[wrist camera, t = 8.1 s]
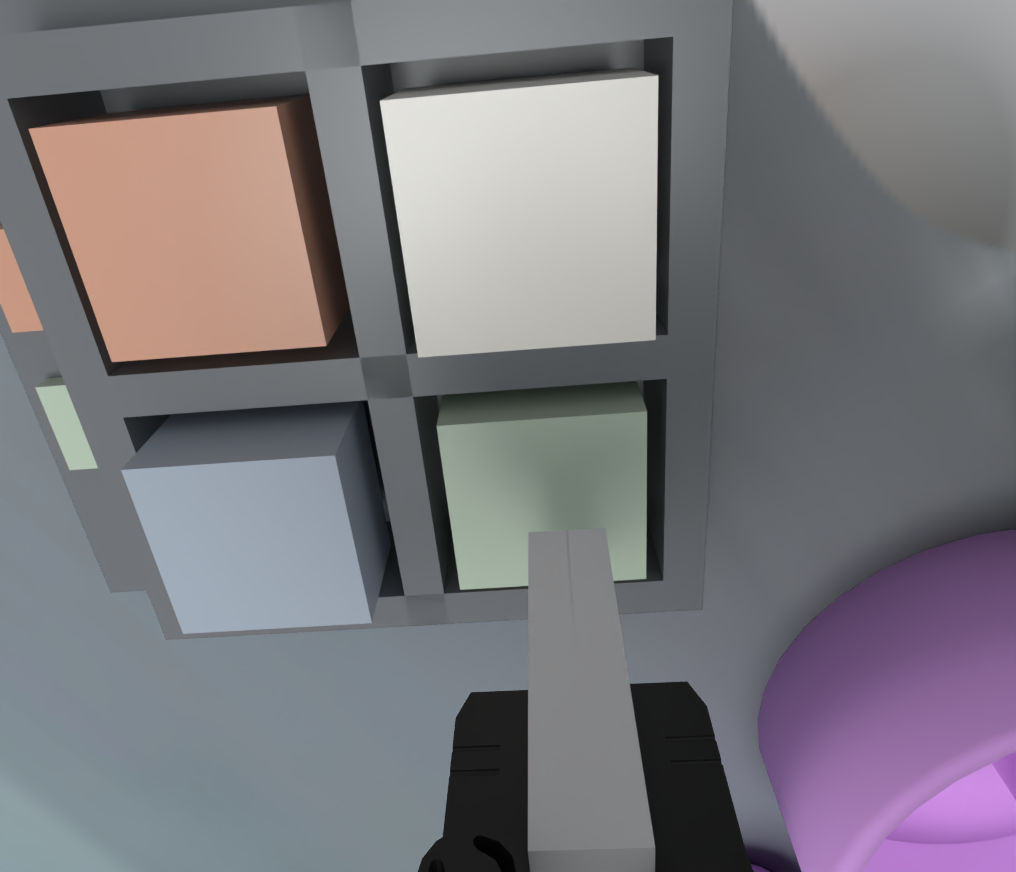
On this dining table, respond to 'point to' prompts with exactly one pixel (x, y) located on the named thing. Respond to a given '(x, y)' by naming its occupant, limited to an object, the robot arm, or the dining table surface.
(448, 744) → the dining table surface
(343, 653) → the dining table surface
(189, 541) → the slate key
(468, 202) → the ivory key
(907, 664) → the container set
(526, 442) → the sage key
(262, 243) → the terracotta key
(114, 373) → the grid organizer tray
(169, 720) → the dining table surface
